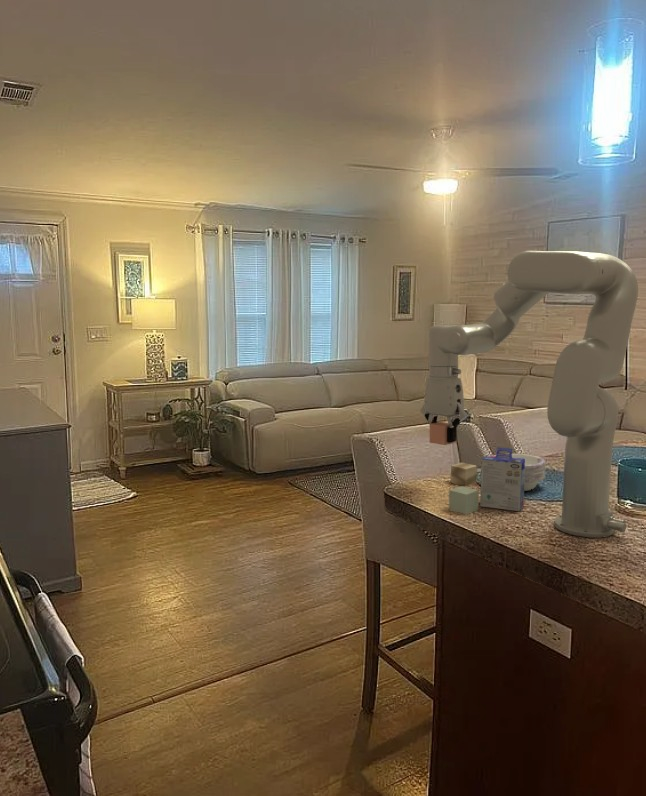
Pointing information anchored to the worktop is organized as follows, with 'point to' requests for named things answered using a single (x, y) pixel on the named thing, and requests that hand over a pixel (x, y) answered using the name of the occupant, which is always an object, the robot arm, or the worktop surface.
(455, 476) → the maple block
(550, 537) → the worktop surface
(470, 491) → the sage block
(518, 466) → the ink cartridge box
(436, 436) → the coral block
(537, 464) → the paper bowls
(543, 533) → the worktop surface
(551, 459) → the worktop surface
